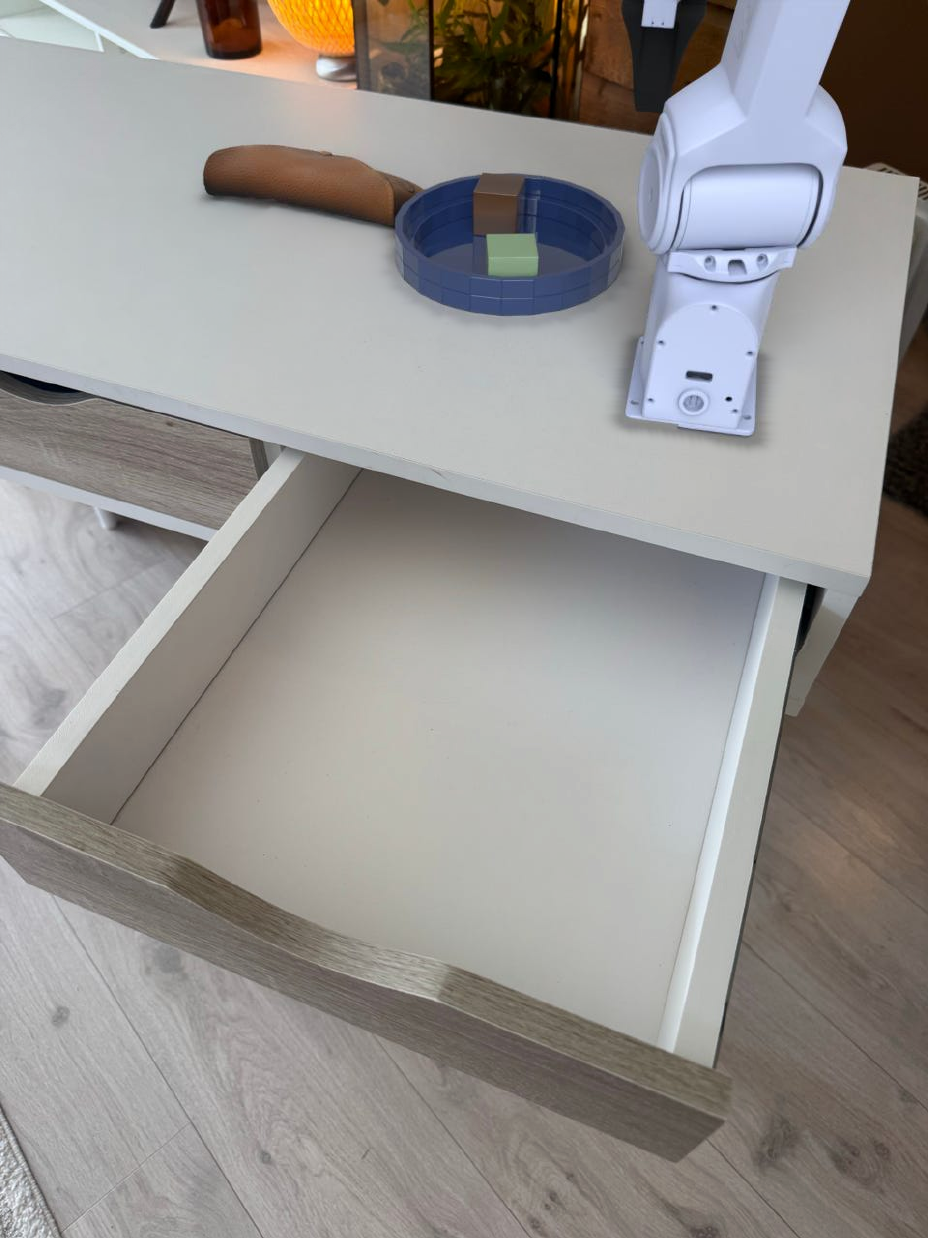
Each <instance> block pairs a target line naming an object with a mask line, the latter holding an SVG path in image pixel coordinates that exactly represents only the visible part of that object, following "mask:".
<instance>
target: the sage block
mask: <svg viewBox="0 0 928 1238" xmlns="http://www.w3.org/2000/svg"><path fill="white" fill-rule="evenodd" d="M538 259H539V257H538V251H537V245H536V239H535V234H487V235H486V275H494V276H535V275H538Z"/></svg>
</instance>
